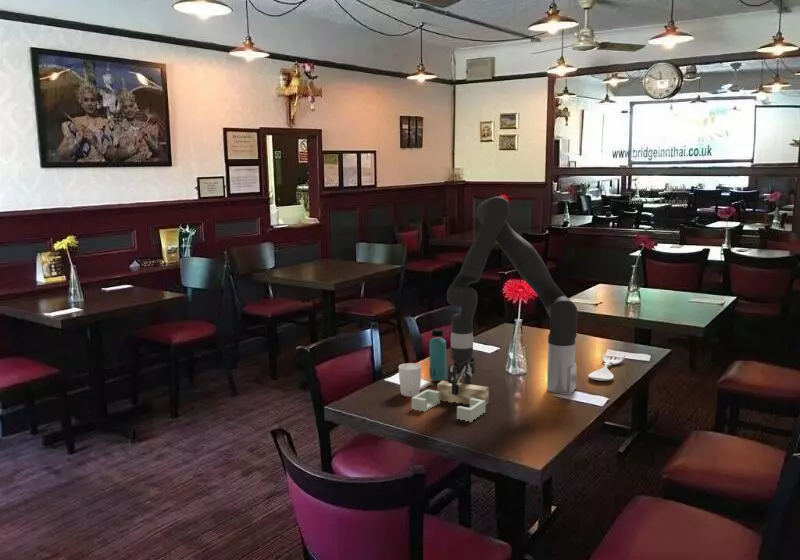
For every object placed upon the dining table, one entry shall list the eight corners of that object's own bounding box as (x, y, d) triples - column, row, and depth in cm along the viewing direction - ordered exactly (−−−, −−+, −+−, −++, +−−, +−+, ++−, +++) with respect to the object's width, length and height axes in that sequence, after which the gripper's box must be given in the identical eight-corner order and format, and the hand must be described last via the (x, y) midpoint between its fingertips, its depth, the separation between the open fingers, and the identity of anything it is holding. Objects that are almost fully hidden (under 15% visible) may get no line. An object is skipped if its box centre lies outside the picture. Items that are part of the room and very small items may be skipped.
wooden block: (488, 404, 223) (488, 387, 222) (484, 407, 220) (484, 390, 219) (442, 397, 231) (442, 380, 230) (437, 400, 228) (437, 383, 227)
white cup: (414, 398, 230) (413, 370, 228) (394, 395, 234) (394, 367, 232) (425, 391, 236) (425, 364, 235) (406, 388, 240) (406, 361, 239)
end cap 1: (411, 409, 219) (411, 397, 219) (427, 400, 228) (427, 389, 227) (424, 412, 217) (424, 400, 216) (440, 402, 225) (440, 391, 224)
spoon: (625, 362, 267) (626, 354, 266) (610, 386, 239) (610, 377, 238) (602, 360, 271) (602, 351, 270) (585, 383, 243) (585, 373, 242)
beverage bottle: (449, 380, 249) (449, 328, 245) (443, 385, 243) (442, 332, 239) (433, 378, 251) (432, 326, 248) (426, 383, 245) (425, 330, 242)
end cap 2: (485, 412, 215) (485, 400, 215) (470, 422, 207) (470, 410, 207) (471, 409, 218) (471, 397, 217) (456, 419, 210) (456, 407, 209)
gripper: (461, 351, 215) (460, 399, 217) (481, 341, 226) (481, 387, 229) (441, 348, 219) (441, 395, 222) (462, 338, 230) (462, 383, 233)
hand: (461, 391), depth 225 cm, fingers open, 8 cm apart
